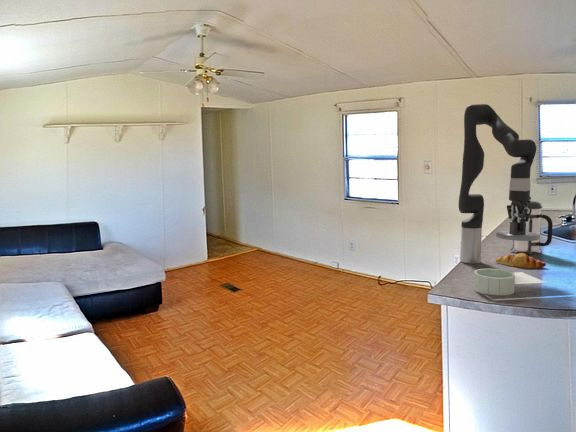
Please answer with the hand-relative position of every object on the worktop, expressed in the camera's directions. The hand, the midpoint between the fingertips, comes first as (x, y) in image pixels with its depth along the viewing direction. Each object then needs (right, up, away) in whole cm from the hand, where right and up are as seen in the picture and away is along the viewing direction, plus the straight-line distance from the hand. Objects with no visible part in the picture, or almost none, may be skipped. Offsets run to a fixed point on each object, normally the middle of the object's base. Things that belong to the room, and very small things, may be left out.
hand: (517, 230), depth 178 cm
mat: (+1, -21, +3) cm, 21 cm away
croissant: (+13, -18, +23) cm, 32 cm away
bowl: (-15, -23, -11) cm, 30 cm away
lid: (0, -3, 0) cm, 3 cm away
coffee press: (+32, -14, +49) cm, 60 cm away
